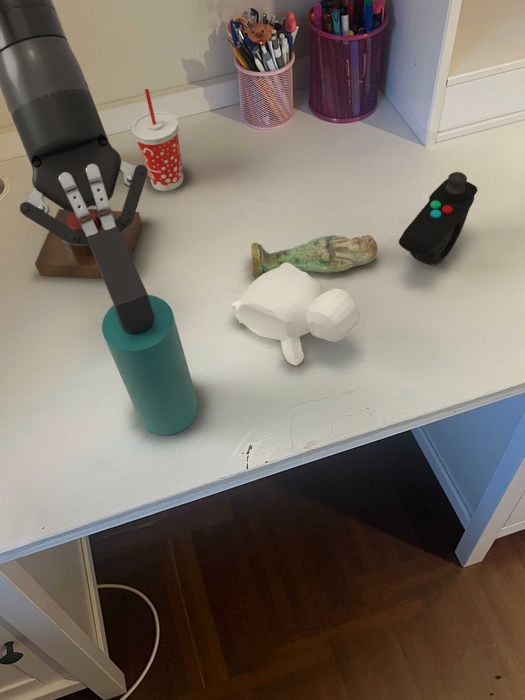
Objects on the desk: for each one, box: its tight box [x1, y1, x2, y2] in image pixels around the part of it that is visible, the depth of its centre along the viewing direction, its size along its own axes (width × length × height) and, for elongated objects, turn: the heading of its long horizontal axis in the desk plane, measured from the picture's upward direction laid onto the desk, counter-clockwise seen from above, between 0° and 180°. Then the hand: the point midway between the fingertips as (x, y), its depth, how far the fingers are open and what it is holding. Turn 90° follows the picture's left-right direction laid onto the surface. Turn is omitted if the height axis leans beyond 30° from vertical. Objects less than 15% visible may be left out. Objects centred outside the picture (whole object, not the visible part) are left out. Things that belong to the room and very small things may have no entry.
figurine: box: [250, 234, 378, 277], centre depth 80 cm, size 6×15×4 cm, turn 86°
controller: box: [398, 171, 478, 266], centre depth 77 cm, size 4×12×10 cm, turn 142°
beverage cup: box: [131, 88, 185, 192], centre depth 87 cm, size 6×6×14 cm
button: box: [67, 208, 99, 231], centre depth 82 cm, size 4×4×2 cm
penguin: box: [230, 263, 360, 367], centre depth 72 cm, size 8×8×15 cm
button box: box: [34, 208, 143, 280], centre depth 84 cm, size 11×10×4 cm
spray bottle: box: [87, 227, 199, 436], centre depth 63 cm, size 11×6×20 cm, turn 24°
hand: (119, 278), depth 64 cm, fingers closed
